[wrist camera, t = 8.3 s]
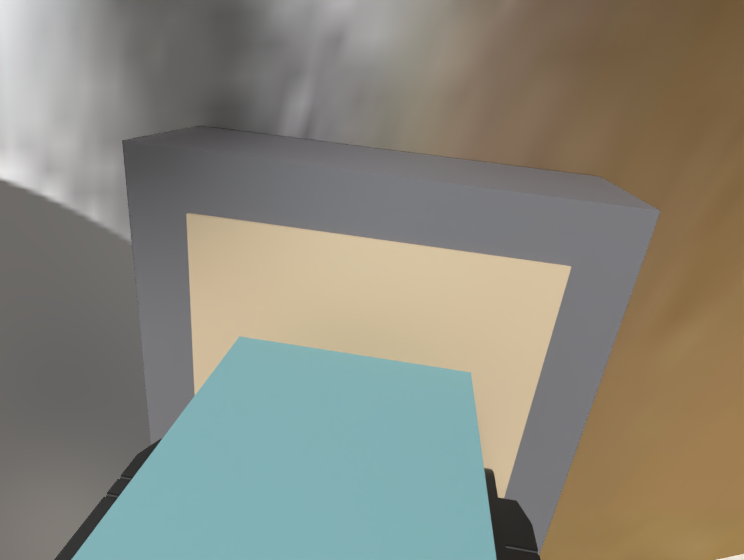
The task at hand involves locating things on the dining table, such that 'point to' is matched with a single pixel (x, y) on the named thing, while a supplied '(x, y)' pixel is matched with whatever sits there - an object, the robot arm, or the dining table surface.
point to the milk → (734, 558)
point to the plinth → (388, 277)
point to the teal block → (310, 466)
